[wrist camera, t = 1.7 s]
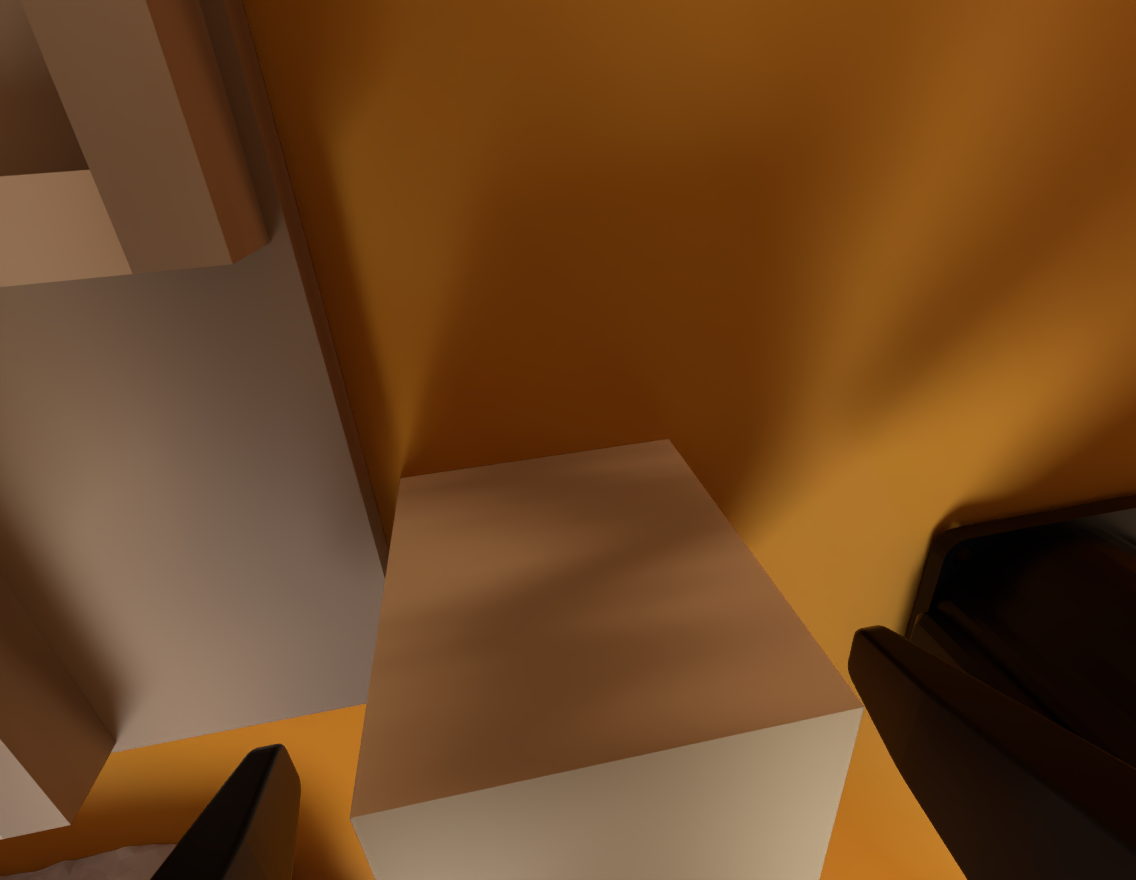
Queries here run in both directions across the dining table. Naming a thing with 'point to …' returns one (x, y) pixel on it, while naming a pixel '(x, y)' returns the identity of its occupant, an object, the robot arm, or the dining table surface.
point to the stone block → (105, 865)
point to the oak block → (592, 685)
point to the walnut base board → (162, 406)
